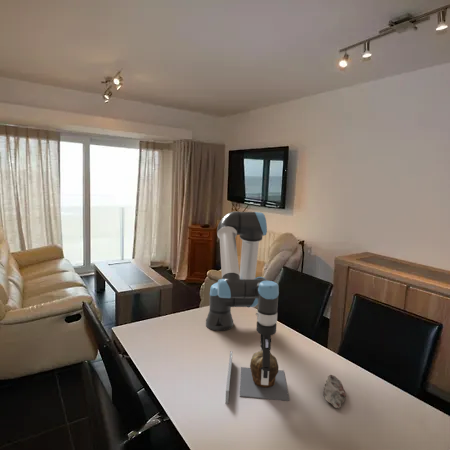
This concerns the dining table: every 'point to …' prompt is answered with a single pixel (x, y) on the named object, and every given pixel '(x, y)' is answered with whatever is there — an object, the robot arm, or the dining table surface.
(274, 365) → the ribbed globe cactus
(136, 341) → the dining table surface
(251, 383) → the rest mat
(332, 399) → the mineral rock
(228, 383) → the acrylic wall
